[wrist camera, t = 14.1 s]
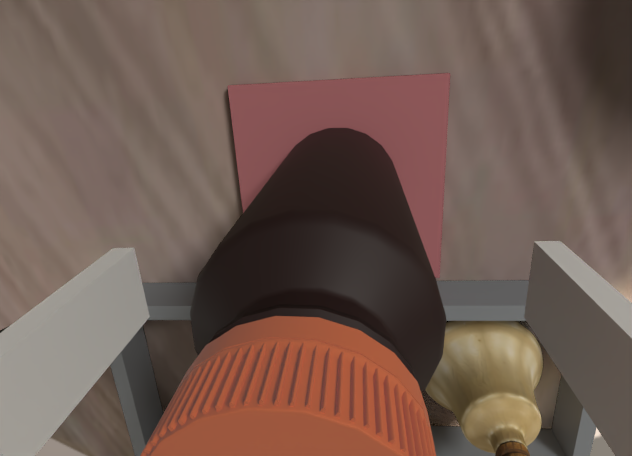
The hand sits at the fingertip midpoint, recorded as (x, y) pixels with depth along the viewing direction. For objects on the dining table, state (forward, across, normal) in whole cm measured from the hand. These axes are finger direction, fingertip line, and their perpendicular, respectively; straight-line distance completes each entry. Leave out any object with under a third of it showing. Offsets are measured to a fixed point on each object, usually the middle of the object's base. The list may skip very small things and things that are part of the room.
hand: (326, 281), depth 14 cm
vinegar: (+12, 0, 0) cm, 12 cm away
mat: (+12, 0, 0) cm, 12 cm away
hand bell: (+12, +9, -13) cm, 20 cm away
